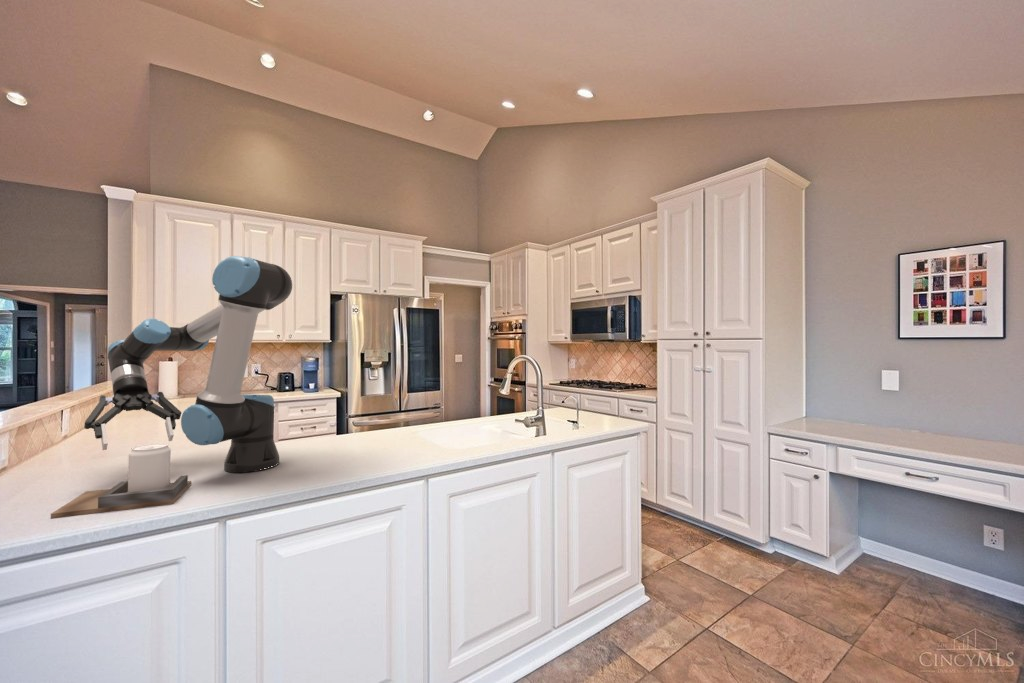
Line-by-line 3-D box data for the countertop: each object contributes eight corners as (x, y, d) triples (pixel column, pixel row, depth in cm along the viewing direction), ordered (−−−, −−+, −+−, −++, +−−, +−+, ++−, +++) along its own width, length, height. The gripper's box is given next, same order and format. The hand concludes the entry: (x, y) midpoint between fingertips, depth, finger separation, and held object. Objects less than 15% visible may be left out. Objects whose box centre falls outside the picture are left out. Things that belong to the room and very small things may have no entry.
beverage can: (145, 500, 103) (146, 451, 103) (118, 498, 105) (119, 449, 105) (177, 490, 111) (178, 443, 111) (152, 487, 113) (153, 442, 113)
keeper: (191, 484, 119) (191, 471, 119) (173, 503, 104) (173, 489, 104) (86, 495, 109) (86, 481, 110) (50, 518, 95) (50, 502, 95)
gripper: (180, 389, 137) (192, 442, 127) (67, 396, 117) (72, 459, 108) (184, 373, 133) (198, 426, 123) (69, 377, 114) (74, 441, 104)
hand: (139, 442), depth 115 cm, fingers open, 13 cm apart
